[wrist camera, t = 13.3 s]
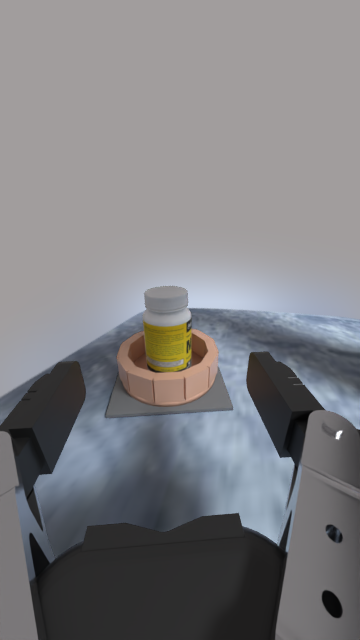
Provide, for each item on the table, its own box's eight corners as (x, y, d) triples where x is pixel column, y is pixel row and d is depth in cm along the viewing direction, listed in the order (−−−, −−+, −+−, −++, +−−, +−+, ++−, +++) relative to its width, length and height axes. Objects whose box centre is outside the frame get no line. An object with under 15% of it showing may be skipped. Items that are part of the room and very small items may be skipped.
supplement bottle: (196, 378, 22) (196, 297, 18) (147, 384, 21) (139, 301, 18) (186, 353, 26) (186, 283, 23) (146, 357, 26) (139, 286, 22)
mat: (209, 345, 29) (209, 343, 29) (232, 409, 19) (233, 407, 19) (126, 349, 29) (126, 347, 29) (106, 418, 19) (105, 415, 19)
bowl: (206, 345, 29) (207, 324, 28) (226, 403, 20) (228, 376, 19) (129, 349, 28) (126, 328, 27) (112, 410, 19) (107, 383, 18)
